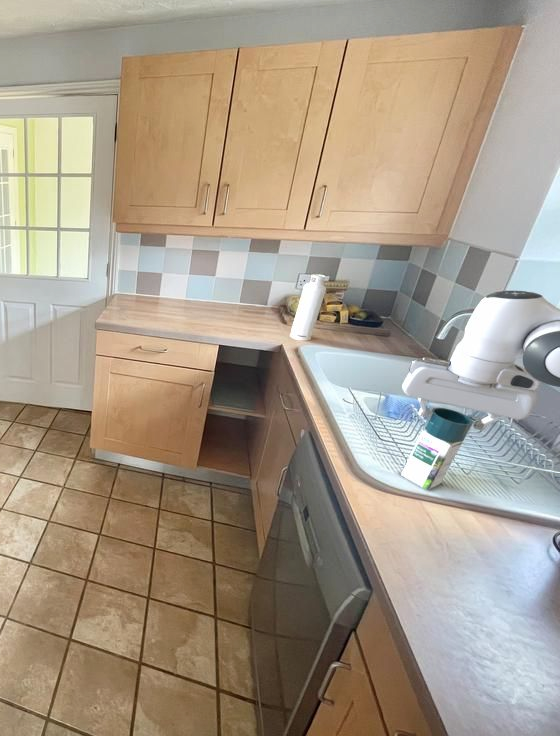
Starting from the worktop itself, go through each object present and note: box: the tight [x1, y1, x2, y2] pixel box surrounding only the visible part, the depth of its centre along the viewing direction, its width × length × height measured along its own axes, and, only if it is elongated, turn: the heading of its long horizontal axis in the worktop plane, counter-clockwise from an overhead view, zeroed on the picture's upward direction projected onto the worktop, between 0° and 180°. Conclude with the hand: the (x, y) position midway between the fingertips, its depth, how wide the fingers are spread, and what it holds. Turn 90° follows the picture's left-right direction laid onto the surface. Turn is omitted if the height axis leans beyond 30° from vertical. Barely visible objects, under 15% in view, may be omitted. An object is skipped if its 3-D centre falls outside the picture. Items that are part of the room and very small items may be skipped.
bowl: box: [423, 407, 474, 443], centre depth 92 cm, size 7×7×5 cm
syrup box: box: [400, 429, 465, 491], centre depth 96 cm, size 6×6×14 cm
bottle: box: [289, 273, 327, 342], centre depth 178 cm, size 8×8×28 cm
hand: (449, 422), depth 92 cm, fingers open, 8 cm apart
